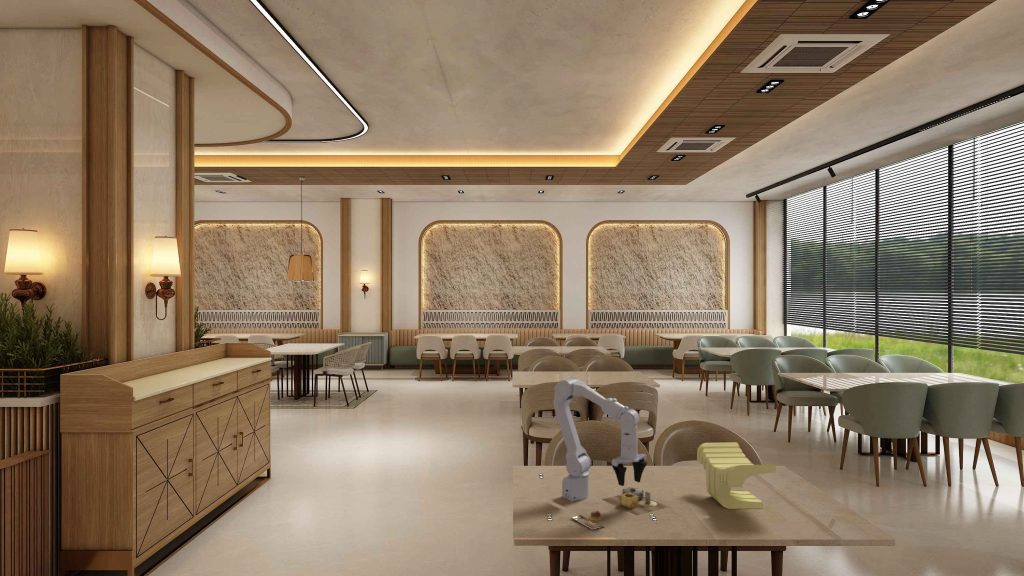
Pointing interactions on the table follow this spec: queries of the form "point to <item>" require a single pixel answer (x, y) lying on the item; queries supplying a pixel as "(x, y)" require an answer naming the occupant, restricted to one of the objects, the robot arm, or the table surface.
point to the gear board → (643, 502)
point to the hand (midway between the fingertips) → (629, 483)
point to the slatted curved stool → (729, 474)
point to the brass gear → (629, 500)
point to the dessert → (591, 517)
